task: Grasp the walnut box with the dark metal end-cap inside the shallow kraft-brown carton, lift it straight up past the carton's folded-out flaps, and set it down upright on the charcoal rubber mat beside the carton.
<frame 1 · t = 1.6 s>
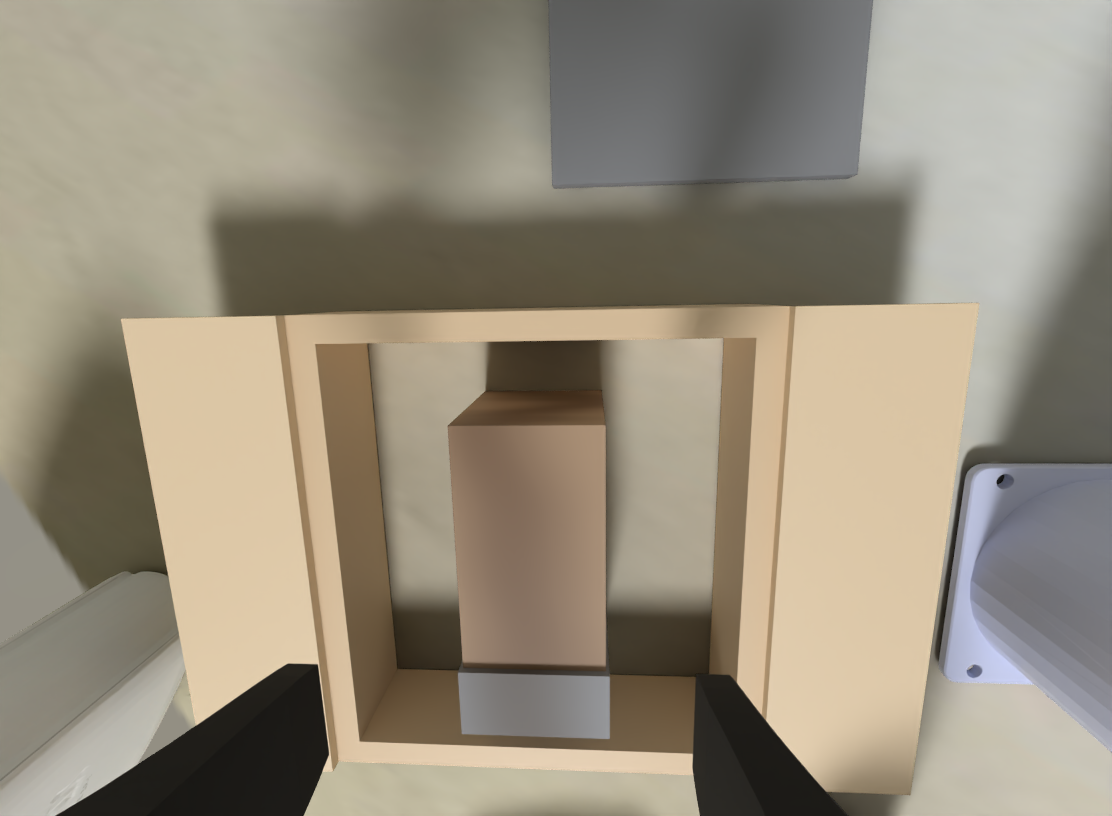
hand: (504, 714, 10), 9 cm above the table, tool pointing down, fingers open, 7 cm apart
walnut box: (545, 487, 19), resting in carton
carton: (546, 514, 19), on the table
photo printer: (139, 668, 22), on the table
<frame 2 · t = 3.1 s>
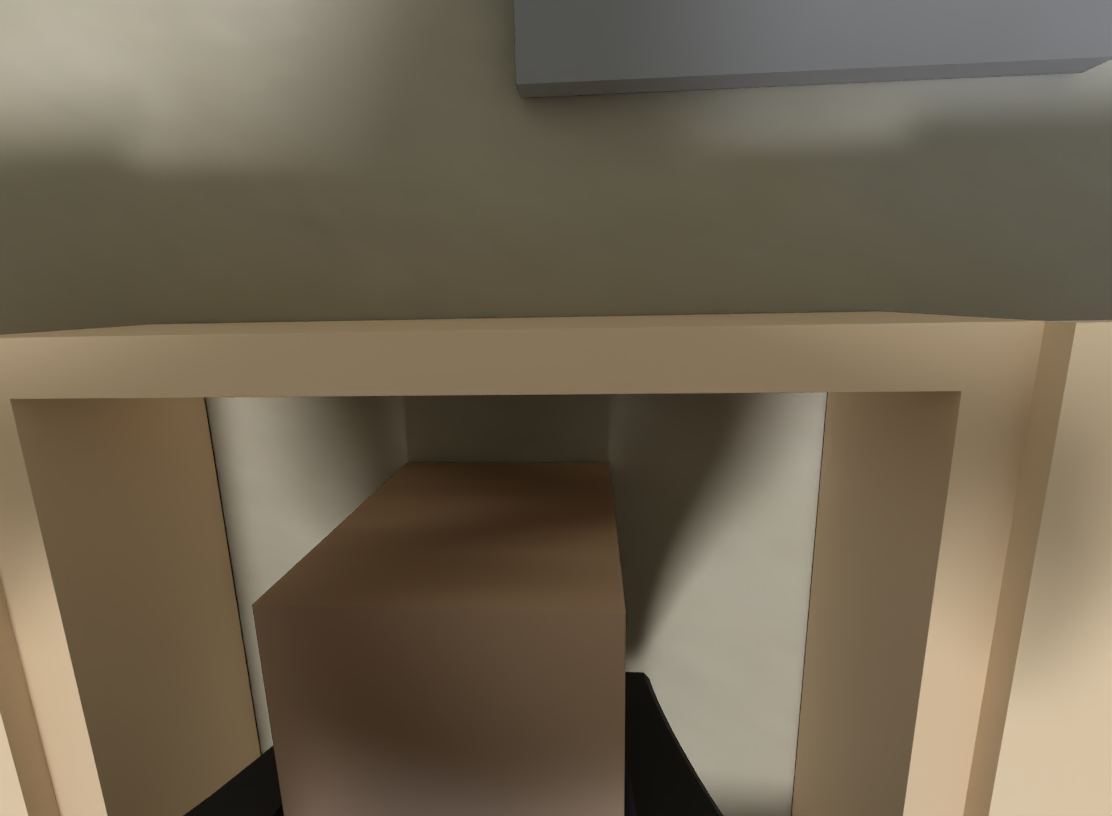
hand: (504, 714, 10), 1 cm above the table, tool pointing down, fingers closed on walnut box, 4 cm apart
walnut box: (513, 622, 11), resting in carton, touching gripper
carton: (514, 664, 11), on the table
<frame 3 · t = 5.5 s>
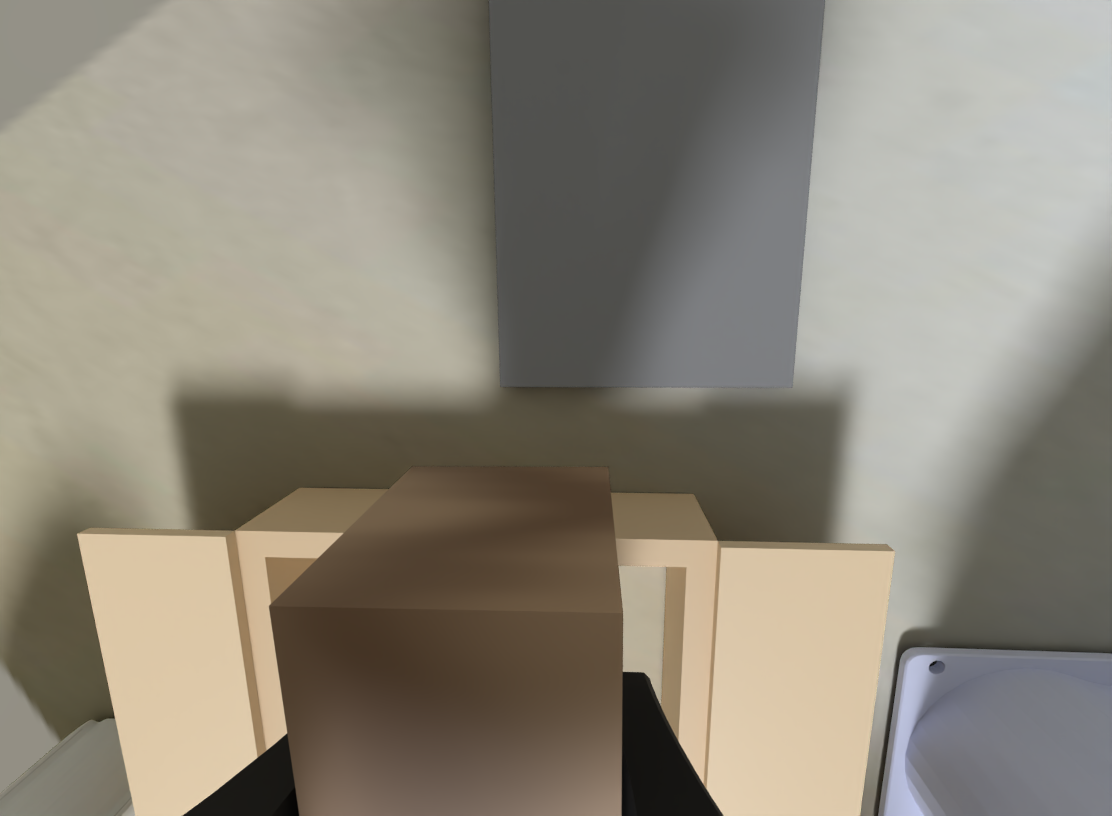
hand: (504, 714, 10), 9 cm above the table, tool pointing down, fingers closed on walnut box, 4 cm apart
walnut box: (515, 621, 12), point 7 cm above the table, touching gripper
mat: (647, 185, 16), on the table
carton: (498, 677, 20), on the table
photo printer: (104, 803, 23), on the table
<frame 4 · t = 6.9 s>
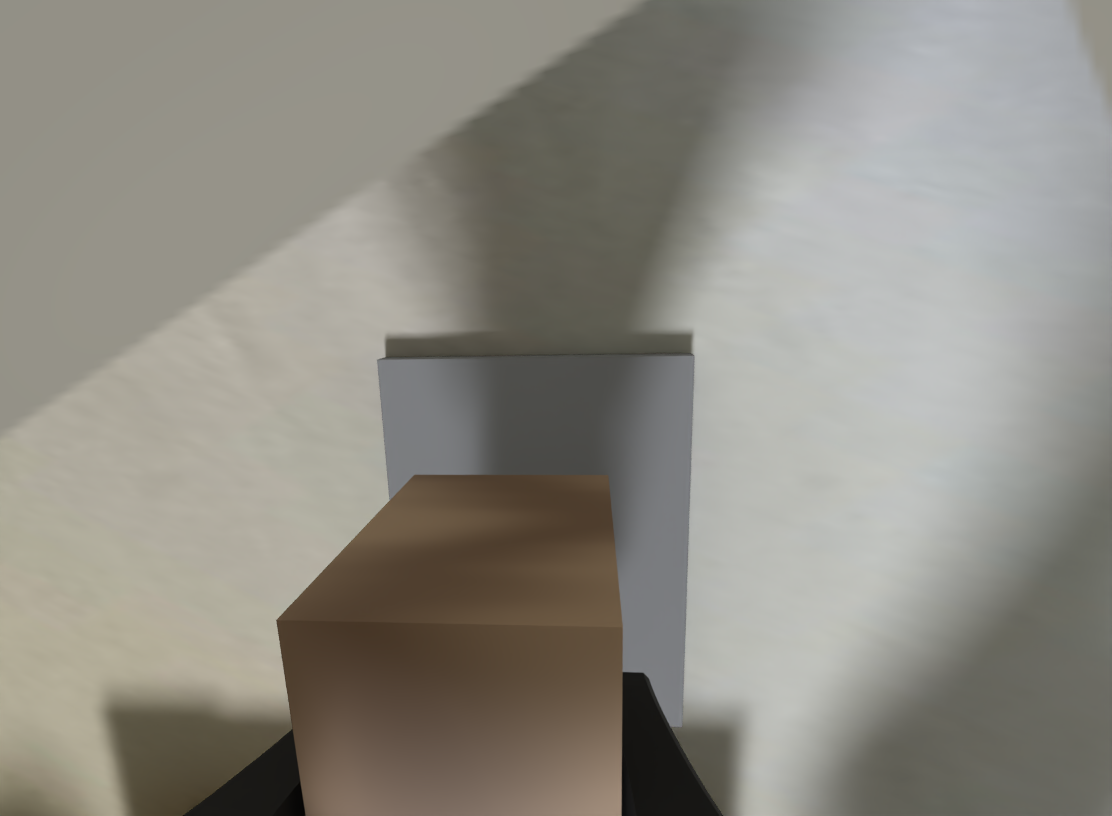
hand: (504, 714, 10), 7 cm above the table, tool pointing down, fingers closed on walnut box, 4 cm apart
walnut box: (516, 626, 12), point 5 cm above the table, touching gripper
mat: (540, 545, 17), on the table
when the fingers open (4 cm above the table, at t = 8.0 s): walnut box drops 1 cm, resting on mat.
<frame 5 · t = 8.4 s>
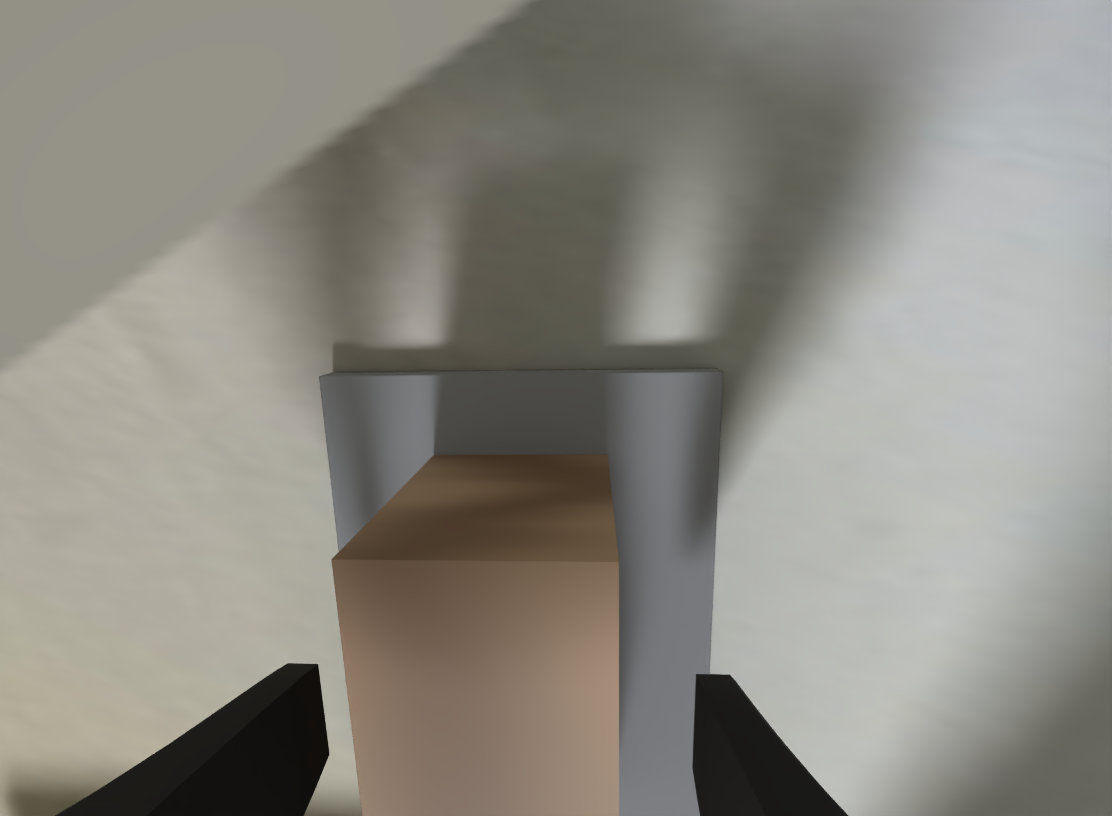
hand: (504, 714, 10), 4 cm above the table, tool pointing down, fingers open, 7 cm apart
walnut box: (525, 593, 13), point 1 cm above the table, touching mat
mat: (527, 603, 14), on the table
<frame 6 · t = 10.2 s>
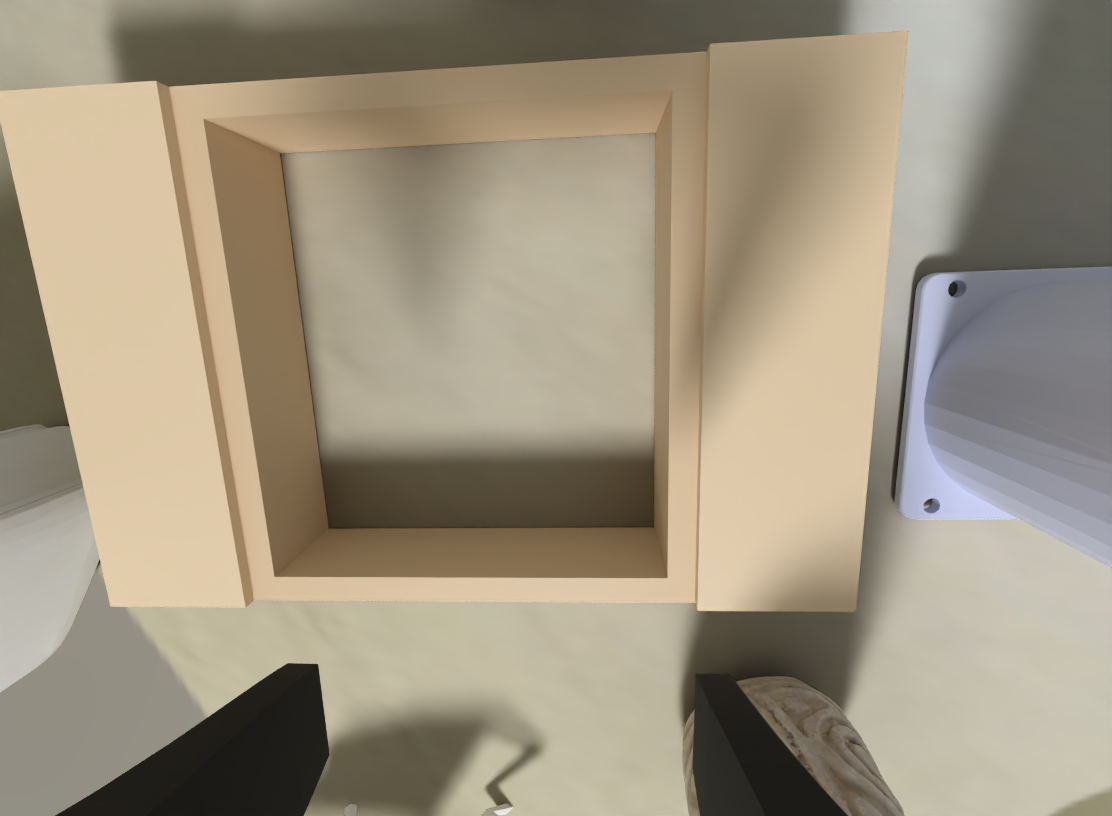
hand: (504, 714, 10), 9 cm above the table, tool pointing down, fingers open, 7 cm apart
carving: (756, 728, 21), on the table
carton: (476, 349, 18), on the table
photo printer: (63, 538, 21), on the table
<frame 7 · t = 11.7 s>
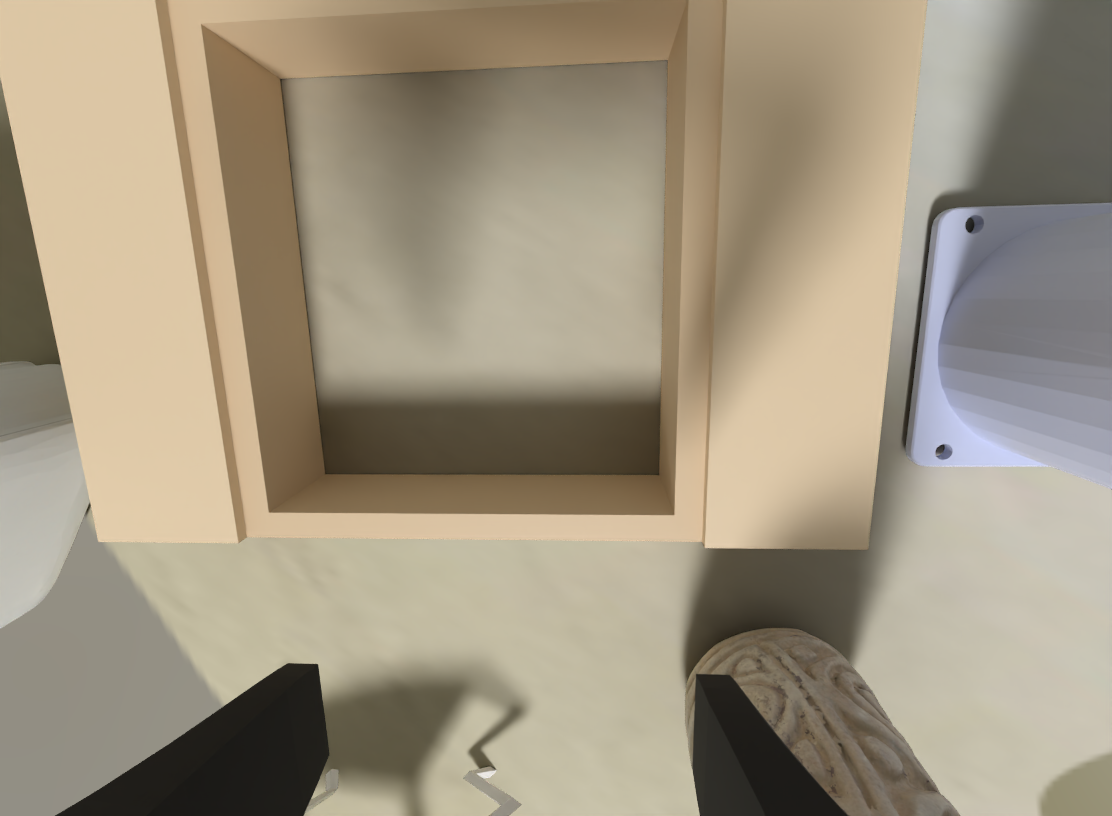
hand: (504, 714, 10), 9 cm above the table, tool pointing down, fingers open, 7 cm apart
carving: (760, 685, 20), on the table
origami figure: (404, 800, 23), on the table
carton: (479, 287, 18), on the table
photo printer: (51, 484, 21), on the table
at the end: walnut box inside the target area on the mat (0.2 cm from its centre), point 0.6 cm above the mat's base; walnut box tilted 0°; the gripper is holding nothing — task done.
